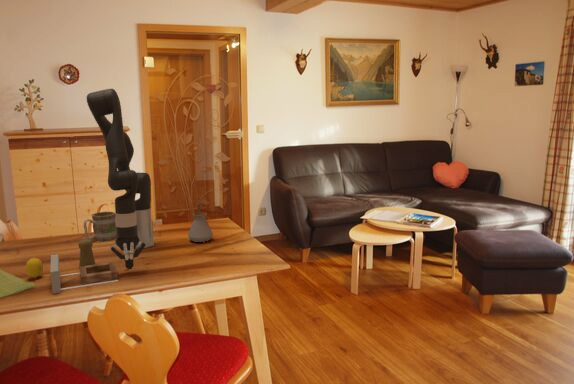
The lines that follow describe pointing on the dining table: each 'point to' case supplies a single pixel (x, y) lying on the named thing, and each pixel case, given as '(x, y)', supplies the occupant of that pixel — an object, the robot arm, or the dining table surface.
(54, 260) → the backstop
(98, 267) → the socket block
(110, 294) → the dining table surface
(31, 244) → the dining table surface
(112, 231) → the mug
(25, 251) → the dining table surface
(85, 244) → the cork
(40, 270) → the lemon
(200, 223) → the coffee pot
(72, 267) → the dining table surface
